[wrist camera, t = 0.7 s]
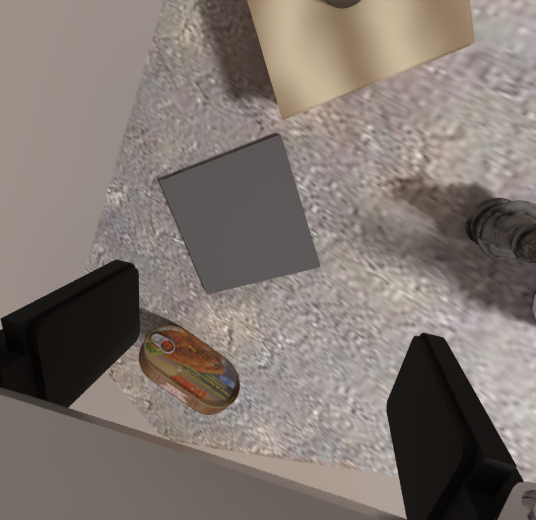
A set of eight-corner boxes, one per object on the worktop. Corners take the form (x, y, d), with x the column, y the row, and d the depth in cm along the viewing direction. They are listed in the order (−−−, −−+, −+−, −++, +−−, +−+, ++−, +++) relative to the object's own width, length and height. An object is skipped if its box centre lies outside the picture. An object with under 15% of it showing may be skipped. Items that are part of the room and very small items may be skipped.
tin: (247, 373, 46) (229, 418, 38) (236, 385, 47) (217, 431, 39) (166, 314, 45) (132, 349, 37) (157, 328, 46) (122, 364, 38)
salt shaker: (450, 224, 33) (510, 261, 22) (500, 183, 31) (595, 201, 20) (487, 260, 33) (563, 313, 22) (539, 222, 31) (652, 261, 20)
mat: (280, 134, 33) (279, 134, 33) (319, 265, 37) (319, 267, 37) (161, 180, 38) (159, 181, 37) (208, 292, 42) (206, 294, 42)
